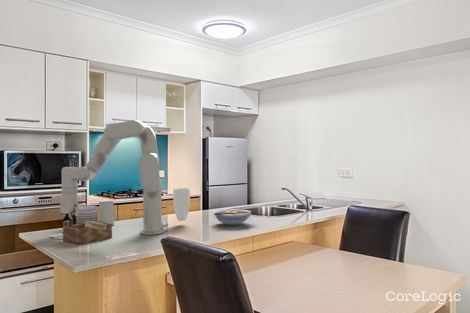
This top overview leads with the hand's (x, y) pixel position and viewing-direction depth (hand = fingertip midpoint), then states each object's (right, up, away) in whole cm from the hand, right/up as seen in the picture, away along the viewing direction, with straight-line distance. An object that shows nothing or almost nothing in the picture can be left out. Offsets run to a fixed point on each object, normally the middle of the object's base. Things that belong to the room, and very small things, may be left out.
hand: (69, 225), depth 185 cm
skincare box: (+9, -5, +26) cm, 29 cm away
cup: (+54, -5, +26) cm, 60 cm away
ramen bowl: (+84, -5, +28) cm, 88 cm away
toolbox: (+13, -5, -10) cm, 17 cm away
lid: (0, -6, 0) cm, 6 cm away
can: (0, -5, +21) cm, 21 cm away
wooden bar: (+22, +4, -24) cm, 33 cm away
